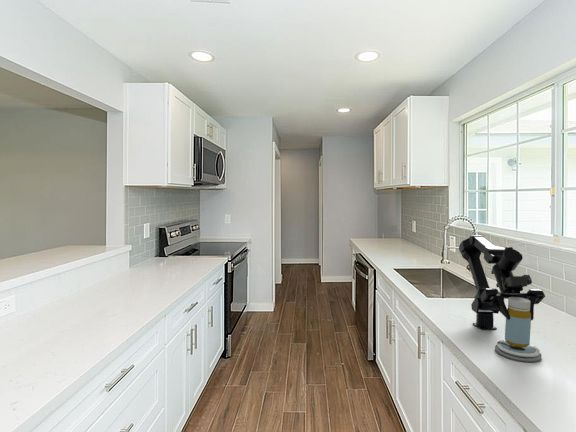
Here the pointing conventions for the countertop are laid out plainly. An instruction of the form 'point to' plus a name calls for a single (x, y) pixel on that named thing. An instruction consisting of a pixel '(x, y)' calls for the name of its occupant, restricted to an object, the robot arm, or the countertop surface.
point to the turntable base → (520, 359)
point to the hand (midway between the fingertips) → (520, 319)
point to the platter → (518, 350)
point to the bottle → (518, 322)
